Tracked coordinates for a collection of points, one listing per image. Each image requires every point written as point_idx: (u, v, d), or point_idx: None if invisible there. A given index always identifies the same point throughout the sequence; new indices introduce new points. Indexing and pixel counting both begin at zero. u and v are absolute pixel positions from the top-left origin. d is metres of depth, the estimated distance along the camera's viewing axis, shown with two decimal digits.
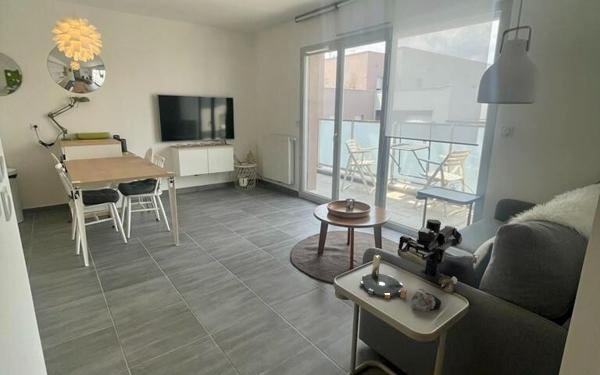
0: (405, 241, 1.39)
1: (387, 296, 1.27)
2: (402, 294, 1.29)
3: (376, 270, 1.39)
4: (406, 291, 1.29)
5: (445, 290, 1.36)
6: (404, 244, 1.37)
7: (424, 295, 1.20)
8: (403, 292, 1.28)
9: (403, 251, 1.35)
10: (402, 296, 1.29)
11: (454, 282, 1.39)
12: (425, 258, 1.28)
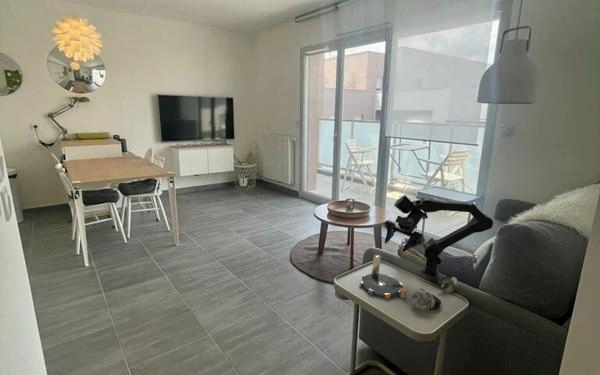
0: (388, 229, 1.49)
1: (387, 296, 1.27)
2: (402, 294, 1.29)
3: (376, 270, 1.39)
4: (406, 291, 1.29)
5: (445, 291, 1.35)
6: (387, 234, 1.48)
7: (423, 294, 1.21)
8: (403, 292, 1.28)
9: (387, 241, 1.48)
10: (402, 296, 1.29)
11: (454, 283, 1.39)
12: (404, 250, 1.40)
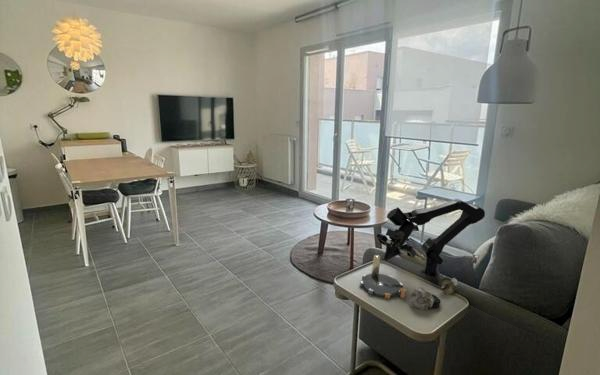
0: (387, 246, 1.45)
1: (387, 296, 1.27)
2: (402, 294, 1.29)
3: (376, 270, 1.39)
4: (406, 291, 1.29)
5: (445, 292, 1.34)
6: (386, 250, 1.45)
7: (422, 293, 1.22)
8: (403, 292, 1.28)
9: None
10: (402, 296, 1.29)
11: (454, 284, 1.38)
12: (387, 259, 1.43)
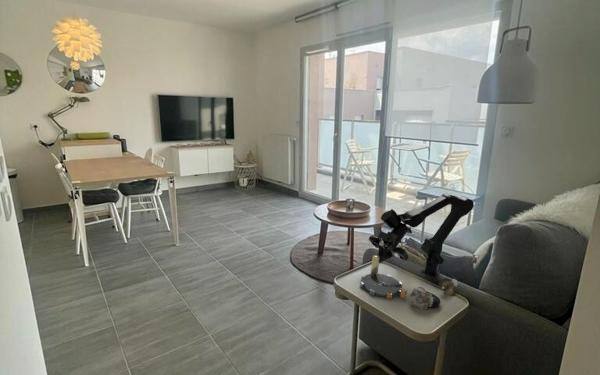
0: (380, 248, 1.42)
1: (389, 296, 1.27)
2: (402, 294, 1.29)
3: (375, 270, 1.39)
4: (406, 291, 1.29)
5: (446, 293, 1.34)
6: (379, 253, 1.42)
7: (422, 293, 1.22)
8: (403, 292, 1.28)
9: None
10: (402, 296, 1.29)
11: (454, 284, 1.37)
12: (379, 262, 1.41)
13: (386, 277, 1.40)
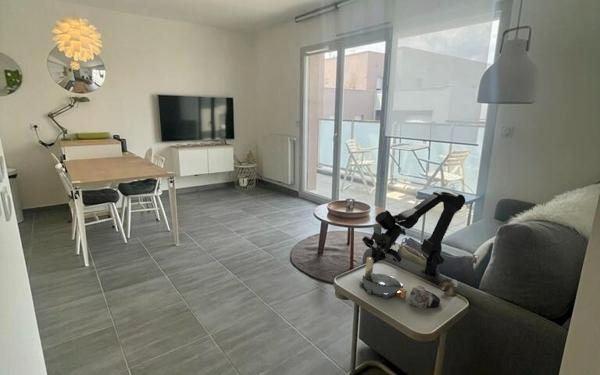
0: (373, 250, 1.40)
1: (399, 293, 1.29)
2: (402, 294, 1.29)
3: (371, 272, 1.37)
4: (406, 291, 1.29)
5: (446, 293, 1.33)
6: (372, 254, 1.40)
7: (421, 292, 1.23)
8: (403, 292, 1.28)
9: None
10: (402, 296, 1.29)
11: (455, 285, 1.36)
12: None
13: (378, 275, 1.41)
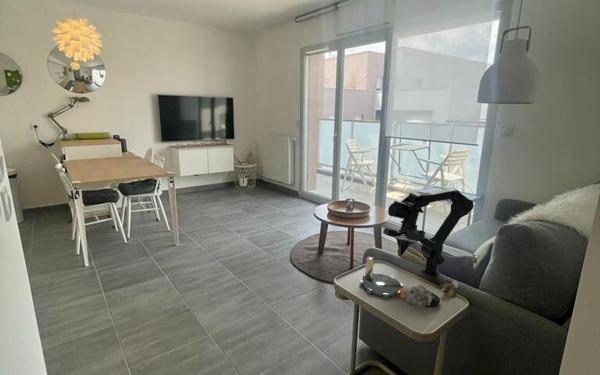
0: (402, 242, 1.40)
1: (399, 293, 1.29)
2: (402, 294, 1.29)
3: (371, 272, 1.37)
4: (406, 291, 1.29)
5: (446, 295, 1.32)
6: (401, 246, 1.41)
7: (420, 291, 1.23)
8: (403, 292, 1.28)
9: None
10: (402, 296, 1.29)
11: (455, 286, 1.36)
12: None
13: (378, 275, 1.41)
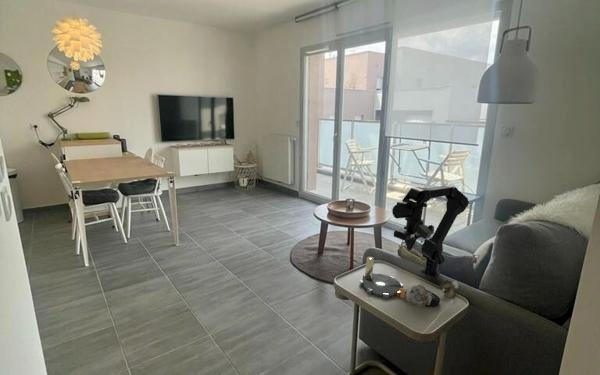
0: (413, 240, 1.40)
1: (399, 293, 1.29)
2: (402, 294, 1.29)
3: (371, 272, 1.37)
4: (406, 291, 1.29)
5: (446, 295, 1.32)
6: (411, 243, 1.41)
7: (420, 290, 1.23)
8: (403, 292, 1.28)
9: None
10: (402, 296, 1.29)
11: (455, 287, 1.35)
12: None
13: (378, 275, 1.41)
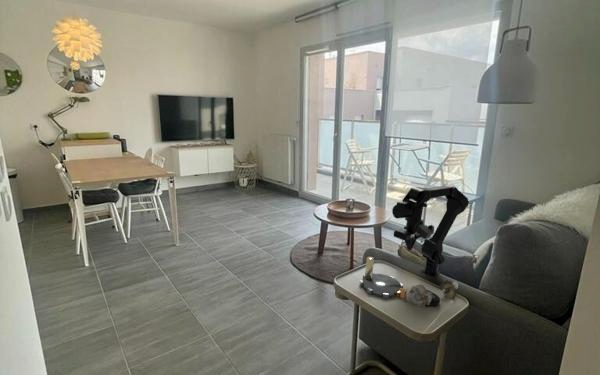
0: (413, 240, 1.40)
1: (399, 293, 1.29)
2: (402, 294, 1.29)
3: (371, 272, 1.37)
4: (406, 291, 1.29)
5: (446, 296, 1.32)
6: (411, 243, 1.41)
7: (420, 290, 1.24)
8: (403, 292, 1.28)
9: None
10: (402, 296, 1.29)
11: (455, 287, 1.35)
12: None
13: (378, 275, 1.41)
